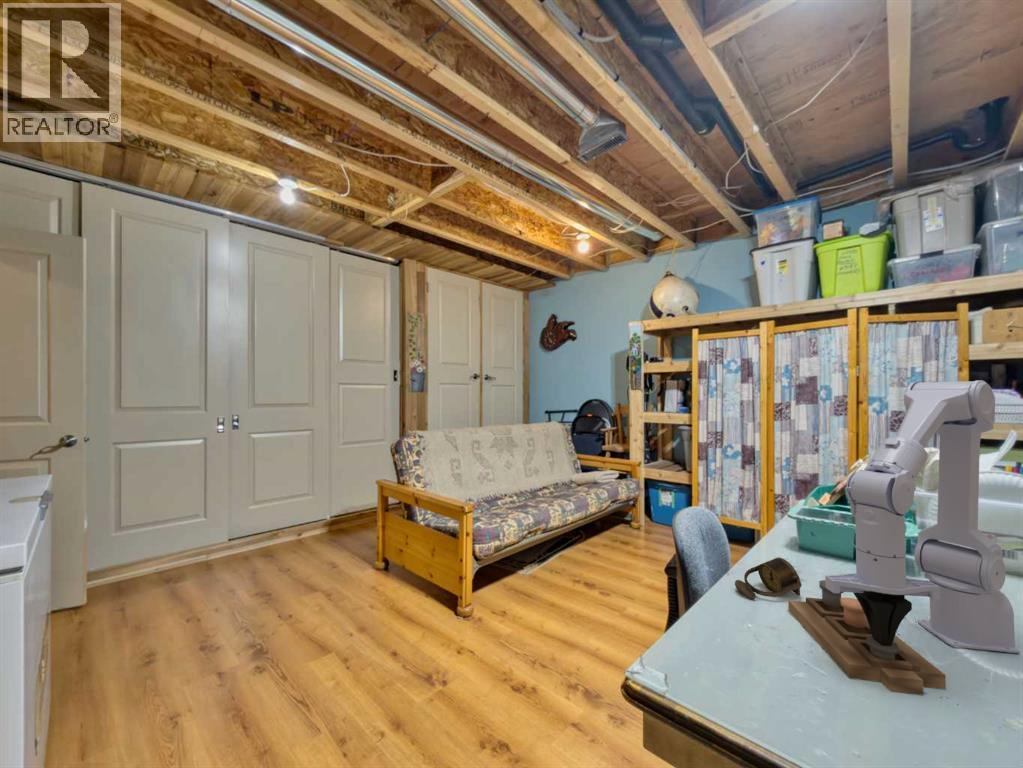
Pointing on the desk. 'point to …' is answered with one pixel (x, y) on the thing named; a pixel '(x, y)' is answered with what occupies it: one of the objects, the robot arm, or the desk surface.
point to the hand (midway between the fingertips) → (882, 642)
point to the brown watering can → (771, 579)
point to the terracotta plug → (853, 612)
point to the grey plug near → (882, 649)
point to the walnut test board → (864, 650)
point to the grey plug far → (830, 596)
